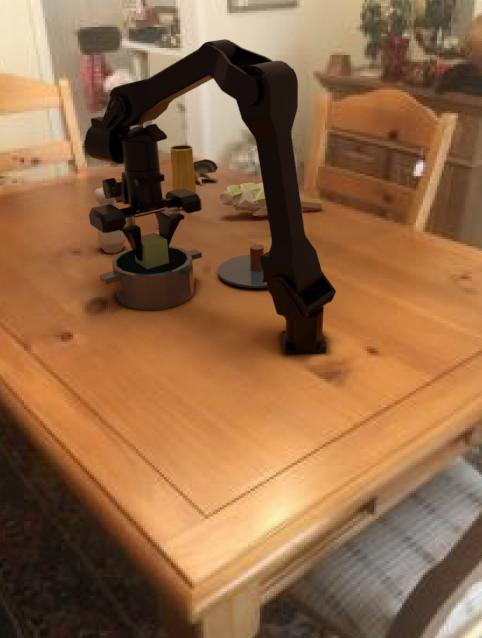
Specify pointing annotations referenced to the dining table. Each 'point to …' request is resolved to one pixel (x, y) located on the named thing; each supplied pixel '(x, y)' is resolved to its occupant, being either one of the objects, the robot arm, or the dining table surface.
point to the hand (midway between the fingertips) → (151, 257)
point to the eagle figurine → (204, 169)
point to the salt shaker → (113, 239)
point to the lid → (244, 269)
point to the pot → (153, 280)
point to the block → (153, 251)
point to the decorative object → (257, 199)
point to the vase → (183, 168)
